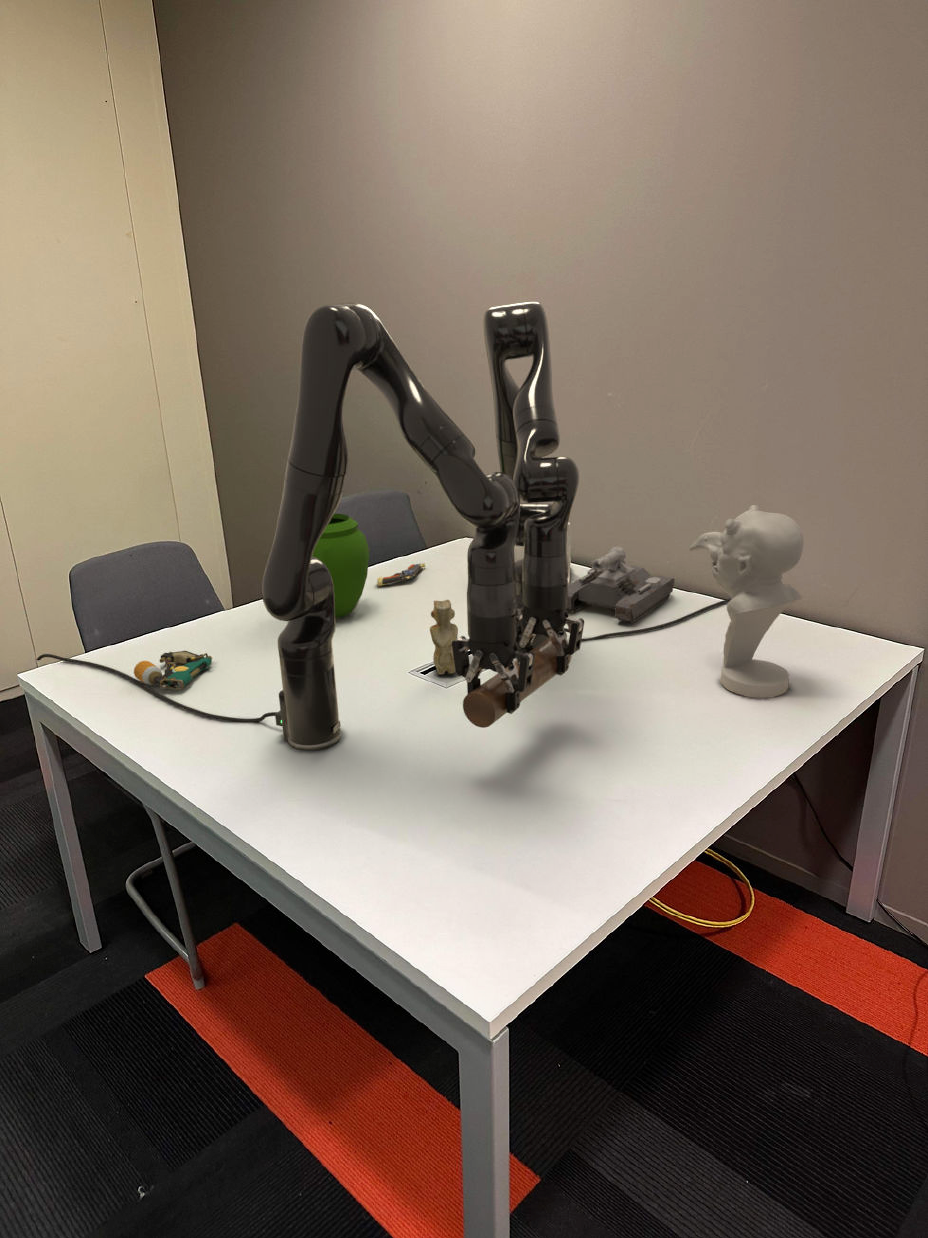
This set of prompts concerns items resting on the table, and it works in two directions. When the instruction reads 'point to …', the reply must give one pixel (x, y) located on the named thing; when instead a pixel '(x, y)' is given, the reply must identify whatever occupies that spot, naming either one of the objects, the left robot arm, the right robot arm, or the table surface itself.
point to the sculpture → (443, 636)
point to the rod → (491, 695)
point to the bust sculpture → (753, 593)
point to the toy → (619, 588)
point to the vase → (344, 561)
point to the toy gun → (401, 575)
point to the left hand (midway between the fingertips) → (493, 706)
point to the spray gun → (172, 669)
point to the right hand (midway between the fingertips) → (544, 669)
